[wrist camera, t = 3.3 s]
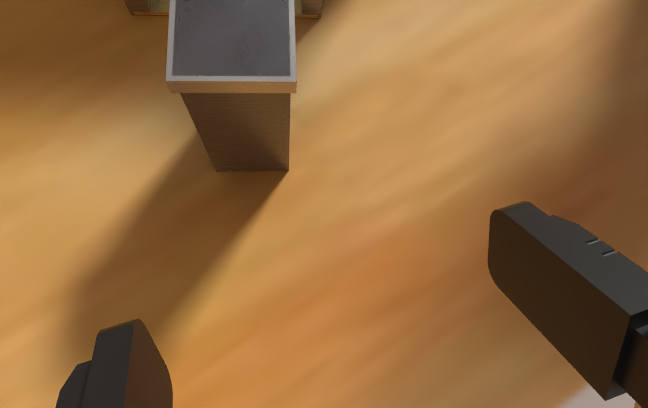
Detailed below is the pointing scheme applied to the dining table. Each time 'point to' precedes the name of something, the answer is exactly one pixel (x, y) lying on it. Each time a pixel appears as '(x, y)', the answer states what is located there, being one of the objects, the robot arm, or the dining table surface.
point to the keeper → (158, 3)
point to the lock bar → (235, 77)
